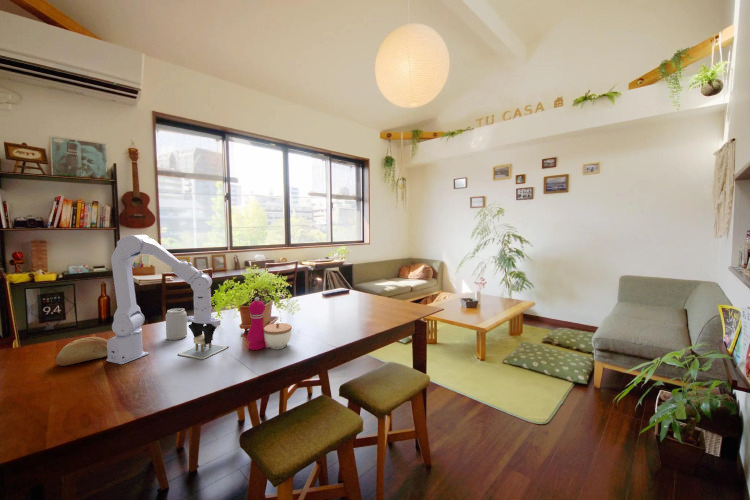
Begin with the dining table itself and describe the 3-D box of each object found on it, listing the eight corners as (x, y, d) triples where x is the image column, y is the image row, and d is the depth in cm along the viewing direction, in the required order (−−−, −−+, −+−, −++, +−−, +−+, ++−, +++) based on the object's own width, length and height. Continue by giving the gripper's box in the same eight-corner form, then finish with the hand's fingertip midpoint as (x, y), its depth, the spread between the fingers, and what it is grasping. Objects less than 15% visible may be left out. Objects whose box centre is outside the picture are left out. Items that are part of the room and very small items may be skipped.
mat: (202, 360, 112) (202, 358, 112) (177, 355, 116) (177, 353, 116) (228, 347, 123) (228, 346, 123) (204, 343, 127) (204, 342, 127)
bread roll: (116, 358, 112) (115, 336, 112) (56, 372, 101) (55, 348, 101) (112, 350, 119) (111, 329, 118) (56, 362, 108) (54, 340, 107)
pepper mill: (261, 351, 120) (260, 299, 119) (243, 349, 121) (243, 298, 120) (270, 344, 127) (270, 295, 126) (253, 342, 128) (253, 294, 127)
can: (191, 335, 136) (190, 307, 135) (178, 341, 129) (177, 312, 128) (175, 334, 137) (174, 306, 136) (161, 340, 130) (160, 311, 129)
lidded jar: (257, 348, 123) (257, 325, 122) (276, 339, 133) (276, 317, 132) (278, 353, 118) (278, 329, 118) (297, 344, 128) (297, 321, 127)
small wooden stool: (205, 346, 122) (204, 333, 122) (213, 347, 121) (212, 334, 121) (193, 350, 118) (193, 337, 117) (202, 352, 116) (201, 339, 116)
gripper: (226, 306, 119) (227, 341, 121) (196, 302, 124) (197, 336, 125) (211, 311, 113) (212, 348, 114) (180, 307, 117) (181, 342, 118)
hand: (203, 342), depth 119 cm, fingers closed on small wooden stool, 4 cm apart
